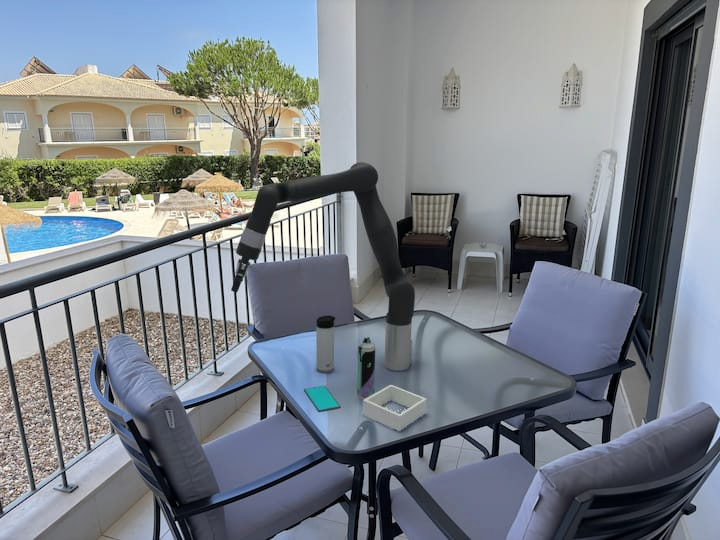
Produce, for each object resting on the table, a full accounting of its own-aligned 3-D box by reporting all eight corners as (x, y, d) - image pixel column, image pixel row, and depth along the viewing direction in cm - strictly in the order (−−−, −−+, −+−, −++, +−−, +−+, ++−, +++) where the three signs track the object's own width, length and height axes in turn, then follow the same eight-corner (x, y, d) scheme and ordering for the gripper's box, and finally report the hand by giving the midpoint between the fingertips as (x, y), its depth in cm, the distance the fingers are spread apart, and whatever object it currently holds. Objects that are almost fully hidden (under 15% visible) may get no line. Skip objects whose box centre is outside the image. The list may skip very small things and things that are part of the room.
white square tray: (390, 398, 161) (390, 384, 160) (426, 413, 153) (426, 398, 152) (362, 415, 151) (363, 400, 150) (399, 432, 143) (399, 416, 142)
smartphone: (318, 411, 152) (303, 389, 166) (318, 413, 153) (303, 391, 166) (341, 406, 155) (324, 385, 169) (341, 409, 156) (324, 387, 169)
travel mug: (332, 374, 178) (332, 320, 173) (314, 372, 179) (314, 318, 174) (336, 366, 184) (337, 314, 179) (319, 364, 185) (319, 313, 180)
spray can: (368, 401, 160) (369, 342, 155) (353, 396, 162) (354, 338, 157) (377, 394, 164) (378, 336, 159) (362, 390, 167) (364, 333, 162)
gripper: (261, 251, 160) (244, 297, 163) (262, 242, 173) (247, 285, 176) (238, 243, 158) (221, 290, 161) (241, 235, 172) (226, 278, 174)
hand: (235, 287), depth 169 cm, fingers open, 8 cm apart
